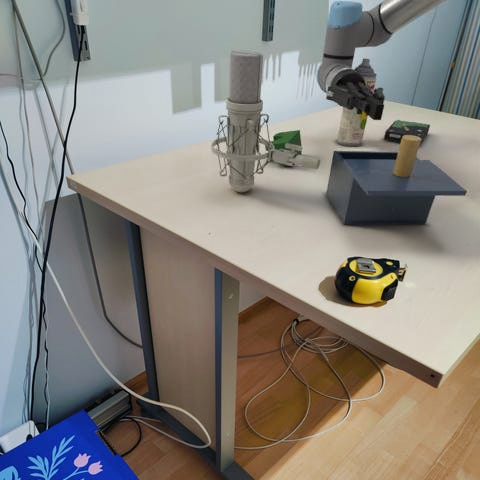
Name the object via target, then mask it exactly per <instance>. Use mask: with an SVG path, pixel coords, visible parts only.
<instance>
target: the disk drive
mask: <svg viewBox="0 0 480 480" xmlns="http://www.w3.org/2000/svg"><path fill="white" fill-rule="evenodd" d="M430 127H431V124H428V123H423V122H422V123H421V122H416V121H407V120H400V119H397V120H394V121H393V123H391V125H390V126H389V127H388V128H387V129H386V130H385V133H384V136H383V140H385V141H389V142H394V143H398V144H401V140H402V137H403V136H404V135H413V136H417V137H420V138H421V142H420V146H421V145H422V143H423V142H424V140H425V139H426V137H427V135H428V133H429V131H430Z"/></svg>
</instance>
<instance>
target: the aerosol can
mask: <svg viewBox="0 0 480 480" xmlns="http://www.w3.org/2000/svg"><path fill="white" fill-rule="evenodd" d="M370 62H371V59H370V58H362V61H361V63H360V64H358V66H356V67H355V68H353V69H354V70H355V71H357V72H358V73H360V74H361V75H362V76H363V78H364V80H365V83H366V86H368V87H370V88H371V91H374V89H375V86H376V81H377V76H378V75H377V73H375V70H374V68H373V67H372V65H371V63H370ZM356 113H357V109H356V108H355V107H354V109H352V110H349V109H348V108H346V107H342V112H341V116H340V121H339V127H338V131H337V137H336V138H337V139H336V142H337V143H338V144H340V145H342V146H347V147H359V146H361V145H362V144H363V143H362V142H363V138H364V134H365V130H366V125H367V121H368V117H369V116H368V115H367V114H366V113H365V112H362V114H356Z"/></svg>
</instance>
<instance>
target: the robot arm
mask: <svg viewBox="0 0 480 480" xmlns="http://www.w3.org/2000/svg"><path fill="white" fill-rule="evenodd" d="M446 1H447V0H383V1H381V2H380V3H379V4H377V5H376V6H374V7H373V8H371V9H370V10H363V4H362V2H359V1H349V0H348V1H347V0H335V1H333V2H332V3H331V4H330V8H329V13H328V18H327V20H326V21H327V22H326V31H325V38H324V47H323V53H322V60H321V63H320V64H319V66H318V68H317V70H316V82H317V85H318V86H319V89H320V90H321V91H322V92H324V93H325V94H326V96H325V97H326V98H325V100H327V101H330V102H334V103H335V104H336V105H338V106H340V107H342V108H343V107H346V108H348V109H349V110H352V109H354V107H355V108H356V109H357V113H356V114H362V112H365V113H366V114H367V115H368V117H369V118H370V119H371V120H373V121H382V117H383V112H384V108H385V98H386V96H385V94H384V93H383V92H384V88H383V87H377V88H374V91H371V88H370V87H368V86H366V83H365V80H364V78H363V76H362V75H361V74H360V73H358V72H357V71H355V70H354V69H355V68H353V64H354V63H353V62H354V58H355V53H356V49H358V48H359V49H360V48H369V47H370V48H371V47H372V48H375V47H378V46H382V45H384V44H386V43H388V42H389V40H390V39H391V38H392V36H393V35H394V34H395V33H397V32H398V31H399V30H401V29H403V28H405V27H406V26H407V25H410V24H411V23H412V22H414V21H416V20H417V19H419V18H420V17H422V16H423V15H425V14H427V13H429V12H430V11H432V10H433V9H435V8H437V7H438V6H440V5H442V4H443V3H444V2H446Z"/></svg>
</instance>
